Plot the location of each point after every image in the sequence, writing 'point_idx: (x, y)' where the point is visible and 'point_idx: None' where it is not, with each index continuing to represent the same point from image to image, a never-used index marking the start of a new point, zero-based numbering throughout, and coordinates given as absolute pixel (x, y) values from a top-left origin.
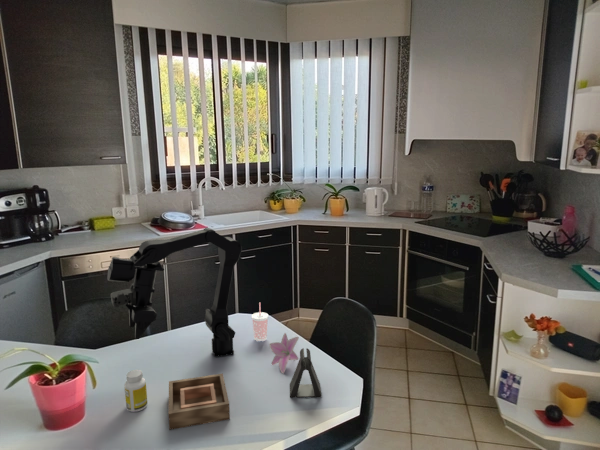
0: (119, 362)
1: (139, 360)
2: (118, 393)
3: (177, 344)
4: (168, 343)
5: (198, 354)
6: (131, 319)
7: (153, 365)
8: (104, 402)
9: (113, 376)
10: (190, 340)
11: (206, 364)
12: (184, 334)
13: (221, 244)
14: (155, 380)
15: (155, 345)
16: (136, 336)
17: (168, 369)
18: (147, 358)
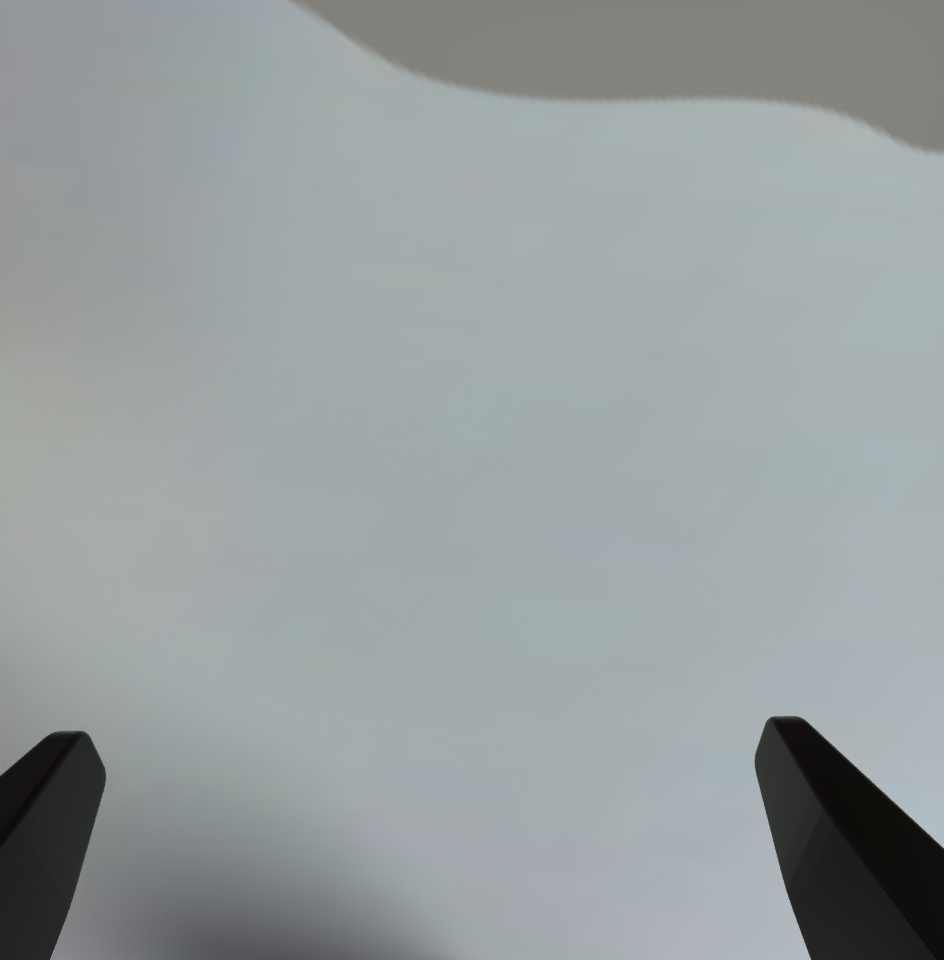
0: (781, 329)
1: (701, 510)
2: (166, 240)
3: None
4: None
5: (521, 920)
6: (873, 916)
7: (532, 602)
8: (48, 88)
9: (520, 234)
10: (795, 925)
11: (336, 928)
12: None
13: None
14: (260, 571)
15: (905, 682)
16: (5, 795)
17: (397, 692)
18: (695, 579)
